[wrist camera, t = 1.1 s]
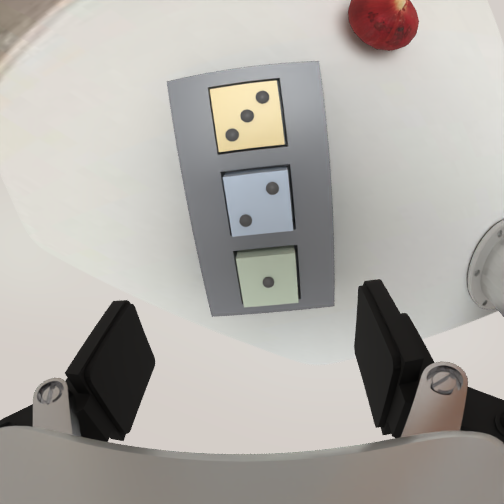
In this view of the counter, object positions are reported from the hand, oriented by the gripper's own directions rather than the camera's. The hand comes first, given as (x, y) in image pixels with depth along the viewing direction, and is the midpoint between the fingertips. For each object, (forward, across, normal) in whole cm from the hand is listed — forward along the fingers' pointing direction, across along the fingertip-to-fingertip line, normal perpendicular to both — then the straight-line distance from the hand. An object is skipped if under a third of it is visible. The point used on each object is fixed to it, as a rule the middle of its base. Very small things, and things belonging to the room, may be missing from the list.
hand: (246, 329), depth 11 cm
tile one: (+18, 0, +7) cm, 19 cm away
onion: (+20, -12, -15) cm, 28 cm away
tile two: (+18, 0, 0) cm, 18 cm away
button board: (+20, 0, 0) cm, 20 cm away
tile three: (+18, 0, -7) cm, 19 cm away
